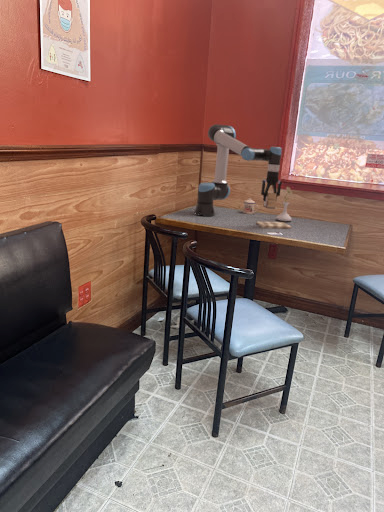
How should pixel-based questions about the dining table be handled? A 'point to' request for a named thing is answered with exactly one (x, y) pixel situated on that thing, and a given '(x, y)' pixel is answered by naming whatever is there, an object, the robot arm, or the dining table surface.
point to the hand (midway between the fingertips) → (269, 206)
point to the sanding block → (270, 200)
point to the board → (273, 225)
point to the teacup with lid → (249, 206)
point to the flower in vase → (285, 209)
